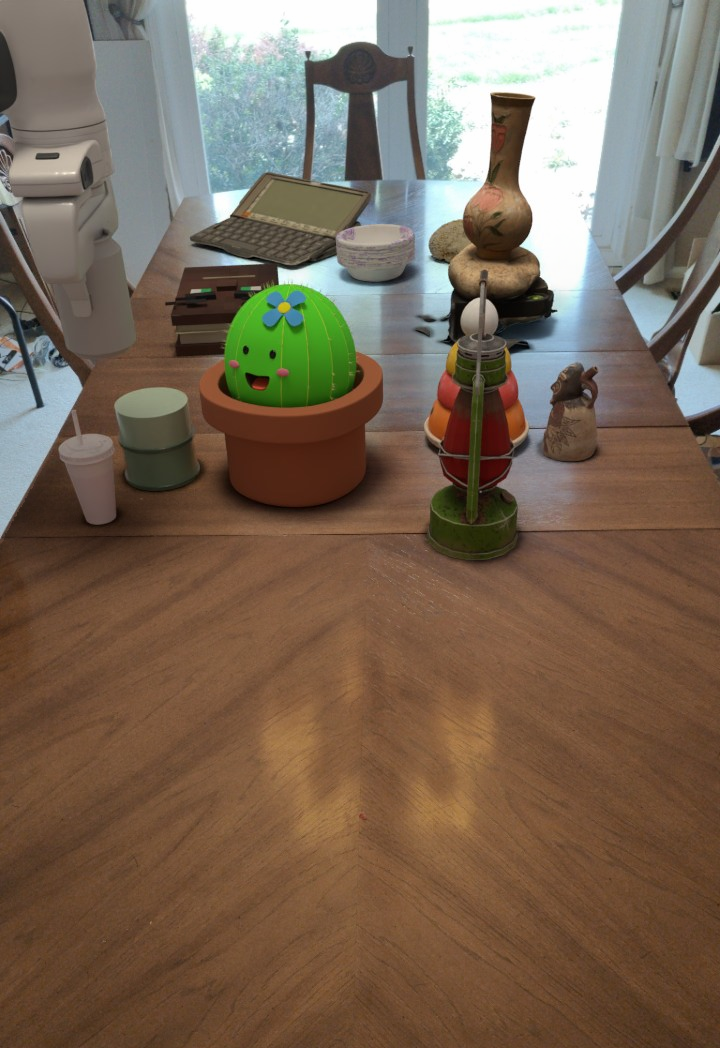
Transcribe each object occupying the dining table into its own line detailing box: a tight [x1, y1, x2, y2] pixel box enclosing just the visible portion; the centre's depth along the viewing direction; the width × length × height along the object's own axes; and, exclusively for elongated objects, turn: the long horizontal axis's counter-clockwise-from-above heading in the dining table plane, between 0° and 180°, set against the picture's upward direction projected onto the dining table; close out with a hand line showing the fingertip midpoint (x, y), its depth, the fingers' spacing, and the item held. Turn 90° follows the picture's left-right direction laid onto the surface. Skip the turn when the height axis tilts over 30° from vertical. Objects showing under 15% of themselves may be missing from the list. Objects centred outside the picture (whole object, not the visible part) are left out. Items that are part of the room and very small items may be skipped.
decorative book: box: [164, 262, 280, 357], centre depth 170 cm, size 19×8×30 cm
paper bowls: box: [336, 223, 416, 283], centre depth 190 cm, size 15×15×8 cm
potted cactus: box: [198, 279, 384, 508], centre depth 120 cm, size 22×22×25 cm
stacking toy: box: [423, 298, 530, 449], centre depth 129 cm, size 14×14×20 cm
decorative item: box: [428, 218, 472, 263], centre depth 198 cm, size 12×9×10 cm
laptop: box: [189, 171, 372, 266], centre depth 209 cm, size 26×32×10 cm
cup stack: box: [113, 386, 201, 492], centre depth 127 cm, size 10×10×10 cm
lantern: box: [426, 270, 519, 561], centre depth 106 cm, size 14×11×30 cm
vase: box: [415, 91, 558, 350], centre depth 158 cm, size 24×22×35 cm
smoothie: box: [57, 409, 117, 526], centre depth 117 cm, size 6×6×14 cm
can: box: [52, 228, 138, 361], centre depth 102 cm, size 8×8×12 cm
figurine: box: [541, 361, 599, 462], centre depth 128 cm, size 7×7×12 cm
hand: (93, 300), depth 103 cm, fingers closed on can, 7 cm apart
